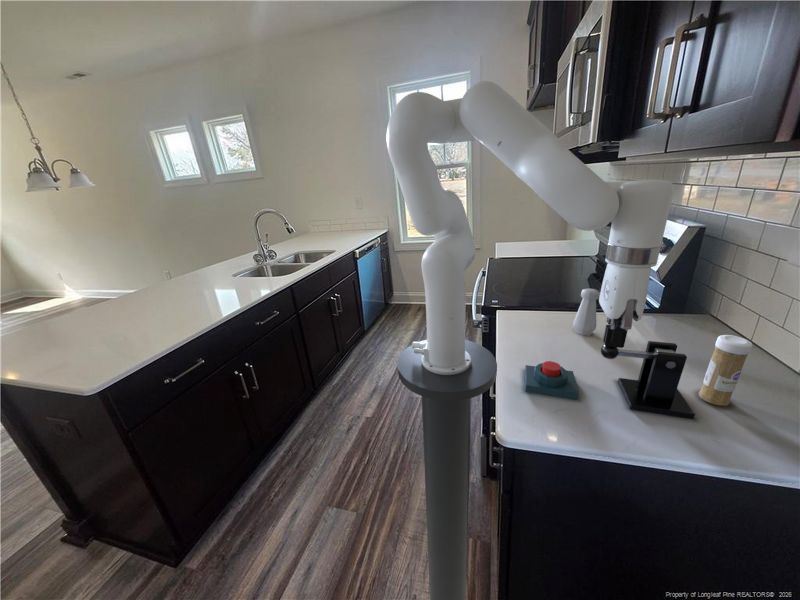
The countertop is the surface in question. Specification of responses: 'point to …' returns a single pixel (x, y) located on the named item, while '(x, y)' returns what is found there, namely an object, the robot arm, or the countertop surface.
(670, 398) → the switch bracket
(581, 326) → the salt shaker
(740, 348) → the sprinkles bottle
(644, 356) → the switch lever
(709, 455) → the countertop surface
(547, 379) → the stop block
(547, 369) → the stop button
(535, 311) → the countertop surface
